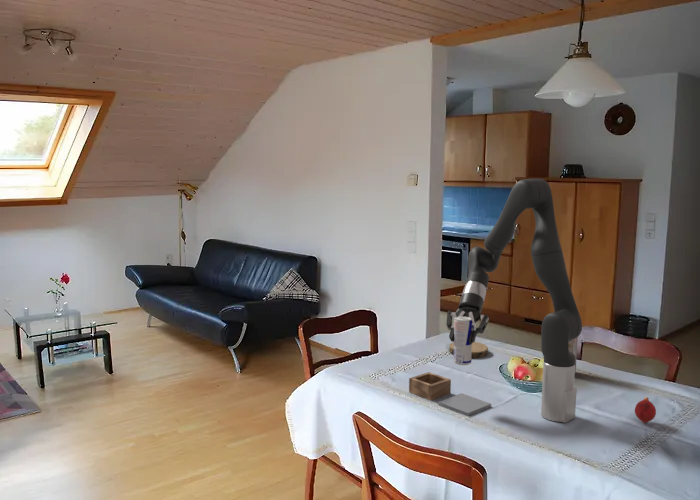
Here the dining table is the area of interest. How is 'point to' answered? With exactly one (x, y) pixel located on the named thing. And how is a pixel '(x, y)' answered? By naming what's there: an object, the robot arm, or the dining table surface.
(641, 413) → the onion
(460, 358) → the beverage can
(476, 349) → the round wood slice
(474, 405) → the slate coaster
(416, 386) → the walnut holder
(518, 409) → the dining table surface
